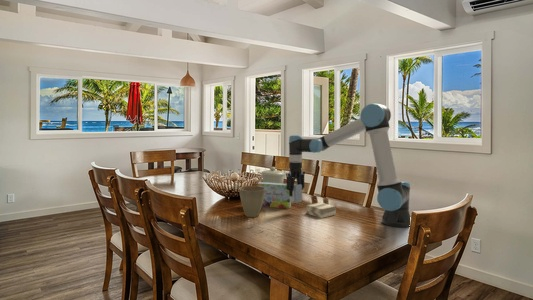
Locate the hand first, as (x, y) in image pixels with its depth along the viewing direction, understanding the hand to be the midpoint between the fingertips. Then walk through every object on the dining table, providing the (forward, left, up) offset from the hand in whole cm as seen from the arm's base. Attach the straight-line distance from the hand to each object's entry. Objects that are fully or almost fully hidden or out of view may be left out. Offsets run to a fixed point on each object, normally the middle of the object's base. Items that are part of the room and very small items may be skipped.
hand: (295, 200), depth 203 cm
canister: (+46, -21, -8) cm, 51 cm away
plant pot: (+11, +24, -8) cm, 27 cm away
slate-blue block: (0, 0, 0) cm, 0 cm away
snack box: (+20, 0, -8) cm, 21 cm away
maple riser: (-10, -11, -7) cm, 17 cm away
